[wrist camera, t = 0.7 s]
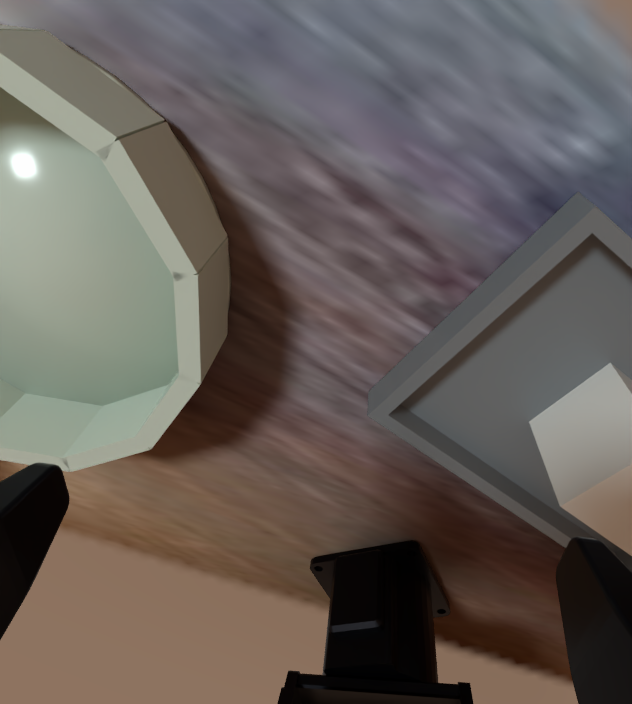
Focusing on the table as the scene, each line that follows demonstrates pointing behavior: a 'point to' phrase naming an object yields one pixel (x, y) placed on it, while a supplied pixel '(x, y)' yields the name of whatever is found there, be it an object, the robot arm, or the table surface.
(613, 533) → the block
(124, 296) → the bowl
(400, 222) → the table surface
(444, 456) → the parts tray
